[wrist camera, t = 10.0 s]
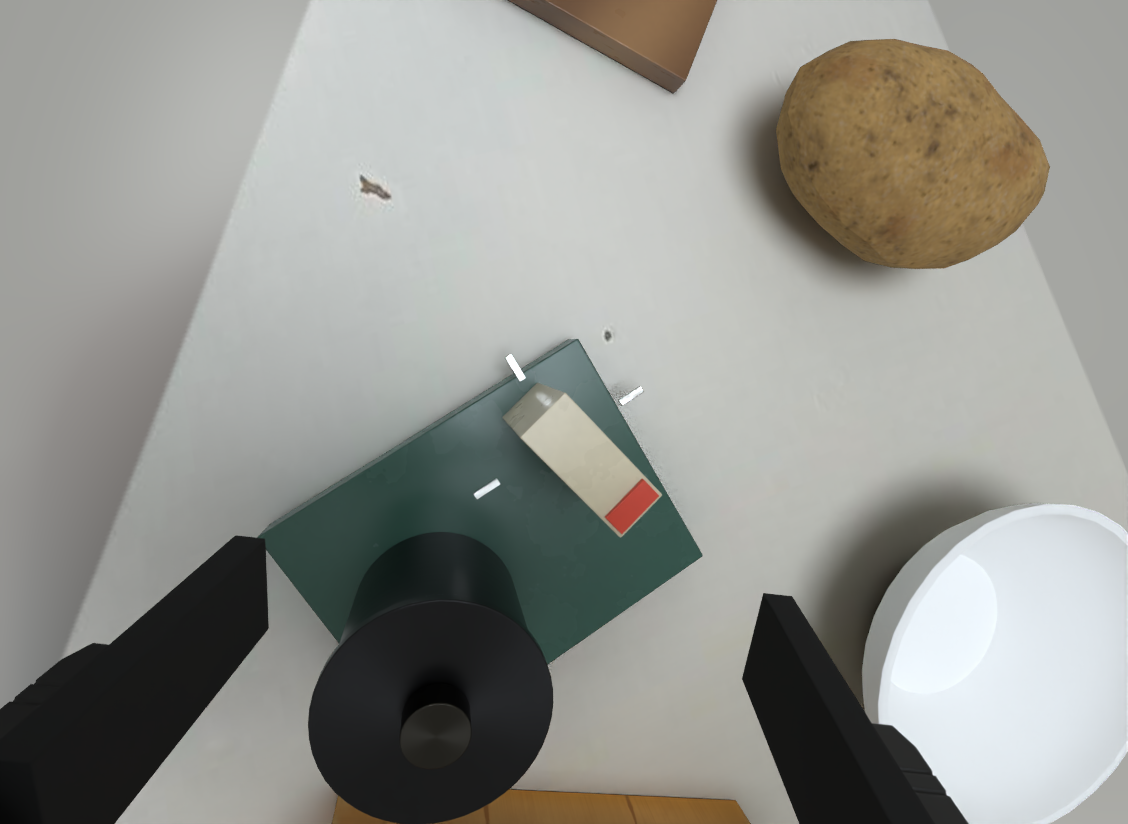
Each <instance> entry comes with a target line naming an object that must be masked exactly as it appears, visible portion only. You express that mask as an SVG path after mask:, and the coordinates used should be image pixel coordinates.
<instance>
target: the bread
mask: <svg viewBox="0 0 1128 824" xmlns="http://www.w3.org/2000/svg"><path fill="white" fill-rule="evenodd" d="M332 824H399V823H393V822H388V821H384V820H381V819H378V818H374V817H371V816H369V815H367V814H365V813H363V812H361V811H359V810H357V809H356V808H354V807H353V806H351V805H350V804H348V803H347V802H345V801H344V800H343V799H342V798H341V797H340V796H339V795H338V798H337V803H336V807H335V812H334V816H333V820H332ZM434 824H751V823H750V822H749V820H748V819H747V817H746V816H745V814H744V813H743V811H742V810H741V808H740V806H739V805H738V803H737V802H736V800H716V799H695V798H674V797H653V796H632V795H611V794H590V793H569V792H548V791H527V790H508V791H506V792H505V793H504V794H503V795H501V796H500V797H499V798H497V799H496V800H494V801H493V802H492V803H490V804H488V805H486V806H484V807H483V808H481V809H479V810H477V811H475V812H472V813H470V814H468V815H465V816H463V817H460V818H456V819H453V820H450V821H445V822H440V823H434Z"/></svg>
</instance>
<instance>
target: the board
mask: <svg viewBox="0 0 1128 824" xmlns="http://www.w3.org/2000/svg"><path fill="white" fill-rule="evenodd" d="M509 1H511V2H512V3H514V4H516V5H518V6H519V7H521V8H523V9H525V10H527V11H528V12H530V13H532V14H534V15H535V16H537V17H539V18H541V19H543V20H544V21H546V22H548V23H550V24H551V25H553V26H555V27H557V28H559V29H560V30H562V31H564V32H566V33H567V34H569V35H571V36H573V37H575V38H576V39H578V40H580V41H582V42H584V43H585V44H587V45H589V46H591V47H592V48H594V49H596V50H598V51H600V52H601V53H603V54H605V55H607V56H608V57H610V58H612V59H614V60H616V61H617V62H619V63H621V64H623V65H624V66H626V67H628V68H630V69H632V70H633V71H635V72H637V73H639V74H640V75H642V76H644V77H646V78H648V79H649V80H651V81H653V82H655V83H656V84H658V85H660V86H662V87H664V88H665V89H667V90H669V91H671V92H672V93H675V92H676V91H677V89H678V88H679V87H680V86H681V85H682V84H683V83H684V82H685V81H686V78H687V76H688V73H689V71H690V68H691V66H692V63H693V61H694V58H695V56H696V53H697V50H698V48H699V45H700V43H701V40H702V38H703V35H704V33H705V30H706V27H707V25H708V22H709V20H710V17H711V15H712V12H713V10H714V7H715V5H716V2H717V0H509Z"/></svg>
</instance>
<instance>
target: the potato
mask: <svg viewBox="0 0 1128 824" xmlns="http://www.w3.org/2000/svg"><path fill="white" fill-rule="evenodd" d="M776 134H777V142H778V150H779V158H780V166H781V171H782V173H783V175H784V177H785V179H786V181H787V183H788V186H789V188H790V190H791V192H792V193H793V194H794V196H795V197H796V198H797V200H798V201H799V202H800V204H801V205H802V206H803V207H804V208H805V209H806V210H807V212H808V213H809V214H810V215H811V216H812V217H813V218H814V219H815V221H816V222H817V223H818V224H819V225H820V226H821V227H822V228H823V229H824V230H826V231H827V232H828V233H829V234H830V235H831V236H832V237H834V238H835V239H836V240H837V241H838V242H839V243H840V244H842V245H843V246H844V247H846V248H847V249H849V250H850V251H851V252H853V253H854V254H855V255H857V256H858V257H860V258H861V259H862V260H864V261H867V262H871V263H875V264H879V265H883V266H888V267H893V268H911V269H930V268H946V267H949V266H952V265H955V264H958V263H960V262H963V261H966V260H969V259H971V258H973V257H975V256H976V255H978V254H980V253H982V252H984V251H986V250H988V249H990V248H992V247H994V246H996V245H998V244H999V243H1000V242H1002V241H1003V240H1004V239H1006V238H1007V237H1008V236H1010V235H1011V234H1012V233H1014V232H1015V231H1016V230H1017V229H1018V228H1019V227H1020V225H1021V224H1022V223H1023V222H1024V220H1025V219H1026V218H1027V217H1028V216H1029V215H1030V213H1031V212H1032V211H1033V210H1034V209H1035V207H1036V206H1037V205H1038V203H1039V201H1040V199H1041V198H1042V196H1043V194H1044V191H1045V187H1046V182H1047V177H1048V173H1049V168H1050V166H1049V163H1048V161H1047V158H1046V156H1045V153H1044V150H1043V147H1042V145H1041V142H1040V140H1039V138H1038V137H1037V136H1036V135H1035V134H1034V133H1033V132H1032V130H1031V129H1030V128H1029V127H1028V126H1027V125H1026V123H1025V122H1024V121H1023V120H1022V119H1021V118H1020V117H1019V116H1018V115H1017V113H1016V112H1015V111H1014V110H1013V109H1012V108H1011V107H1010V106H1009V105H1008V104H1007V103H1006V102H1005V100H1004V99H1003V98H1002V97H1001V96H1000V95H999V94H998V93H997V91H996V90H995V89H994V87H993V86H992V85H991V83H990V82H989V81H988V80H987V78H986V77H985V76H984V74H983V73H981V72H980V71H979V70H978V69H976V68H975V67H974V66H973V65H972V64H970V63H968V62H967V61H965V60H963V59H961V58H960V57H958V56H956V55H955V54H953V53H951V52H949V51H947V50H942V49H937V48H931V47H926V46H921V45H917V44H913V43H909V42H905V41H901V40H896V39H882V40H864V41H850V42H848V43H845V44H843V45H841V46H838V47H836V48H834V49H832V50H829V51H827V52H826V53H824V54H822V55H821V56H819V57H817V58H815V59H814V60H812V61H810V62H808V63H807V64H805V65H803V66H802V67H800V69H799V71H798V72H797V74H796V76H795V78H794V80H793V81H792V83H791V85H790V87H789V89H788V90H787V92H786V95H785V99H784V102H783V106H782V109H781V113H780V117H779V120H778V124H777V128H776Z"/></svg>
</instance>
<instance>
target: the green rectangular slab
mask: <svg viewBox="0 0 1128 824" xmlns="http://www.w3.org/2000/svg"><path fill="white" fill-rule="evenodd" d="M505 359H506V360H507V362H508V364H509V365H510V367H511V368H512V370H513V372H514V374H512V375H510V376H509V377H507V378H505V379H504V380H502V381H501V382H499V383H497V384H496V385H494V386H493V387H491V388H489V389H488V390H486V391H484V392H483V393H481V394H480V395H478V396H476V397H475V398H473V399H472V400H470V401H468V402H467V403H465V404H463V405H462V406H460V407H459V408H457V409H455V410H454V411H452V412H451V413H449V414H447V415H446V416H444V417H442V418H441V419H439V420H438V421H436V422H434V423H433V424H431V425H430V426H428V427H426V428H425V429H423V430H421V431H420V432H418V433H417V434H415V435H413V436H412V437H410V438H408V439H407V440H405V441H404V442H402V443H400V444H399V445H397V446H396V447H394V448H392V449H391V450H389V451H387V452H386V453H384V454H383V455H381V456H379V457H378V458H376V459H375V460H373V461H371V462H370V463H368V464H366V465H365V466H363V467H362V468H360V469H358V470H357V471H355V472H354V473H352V474H350V475H349V476H347V477H345V478H344V479H342V480H341V481H339V482H337V483H336V484H334V485H333V486H331V487H329V488H328V489H326V490H324V491H323V492H321V493H320V494H318V495H316V496H315V497H313V498H312V499H310V500H308V501H307V502H305V503H303V504H302V505H300V506H299V507H297V508H295V509H294V510H292V511H291V512H289V513H287V514H286V515H284V516H282V517H281V518H279V519H278V520H276V521H274V522H273V523H271V524H270V525H269V526H268V527H267V528H266V529H265V530H264V531H263V532H262V533H261V534H260V535H259V536H258V537H257V538H263V539H265V546H266V550H267V551H268V553H269V554H270V555H271V556H272V558H273V559H274V560H275V562H276V563H277V564H278V565H279V567H280V568H281V569H282V571H283V572H284V573H285V574H286V576H287V577H288V578H289V580H290V581H291V582H292V583H293V585H294V586H295V587H296V589H297V590H298V591H299V592H300V594H301V595H302V596H303V598H304V599H305V600H306V602H307V603H308V604H309V605H310V607H311V608H312V609H313V611H314V612H315V613H316V614H317V616H318V617H319V618H320V620H321V621H322V622H323V623H324V625H325V626H326V627H327V629H328V630H329V631H330V632H331V634H332V635H333V636H334V638H335V639H336V640H337V641H338V643H340V640H341V637H342V634H343V631H344V629H345V626H346V623H347V620H348V617H349V614H350V611H351V608H352V605H353V602H354V599H355V596H356V593H357V590H358V588H359V585H360V583H361V581H362V579H363V577H364V575H365V574H366V572H367V571H368V569H369V568H370V567H371V565H372V564H373V563H374V562H375V561H376V560H377V559H378V558H379V557H380V556H381V555H382V554H383V553H384V552H386V551H387V550H388V549H390V548H391V547H393V546H394V545H396V544H397V543H399V542H402V541H404V540H406V539H408V538H411V537H414V536H417V535H421V534H426V533H435V532H448V533H456V534H461V535H464V536H467V537H471V538H473V539H475V540H477V541H479V542H481V543H483V544H484V545H486V546H487V547H489V548H490V549H491V550H492V551H493V552H495V553H496V554H497V555H498V557H499V558H500V559H501V560H502V561H503V563H504V564H505V566H506V567H507V569H508V571H509V573H510V575H511V577H512V580H513V584H514V587H515V590H516V593H517V596H518V600H519V603H520V606H521V609H522V612H523V616H524V619H525V622H526V625H527V628H528V631H529V632H530V633H531V634H532V635H533V637H534V638H535V640H536V641H537V643H538V644H539V646H540V648H541V650H542V652H543V654H544V657H545V659H546V662H547V665H548V664H549V663H550V662H552V661H553V660H555V659H556V658H558V657H559V656H560V655H562V654H563V653H565V652H566V651H568V650H569V649H570V648H572V647H573V646H575V645H576V644H578V643H579V642H580V641H582V640H583V639H585V638H586V637H588V636H589V635H590V634H592V633H593V632H595V631H596V630H598V629H599V628H600V627H602V626H603V625H605V624H606V623H608V622H609V621H610V620H612V619H613V618H615V617H616V616H618V615H619V614H620V613H622V612H623V611H625V610H626V609H628V608H629V607H630V606H632V605H633V604H635V603H636V602H638V601H639V600H640V599H642V598H643V597H645V596H646V595H648V594H649V593H650V592H652V591H653V590H655V589H656V588H658V587H659V586H660V585H662V584H663V583H665V582H666V581H668V580H669V579H671V578H672V577H673V576H675V575H676V574H678V573H679V572H681V571H682V570H683V569H685V568H686V567H688V566H689V565H691V564H692V563H693V562H695V561H696V560H698V559H699V558H701V557H702V553H701V551H700V550H699V548H698V546H697V544H696V543H695V541H694V539H693V537H692V536H691V534H690V532H689V530H688V529H687V527H686V525H685V524H684V522H683V520H682V518H681V517H680V515H679V513H678V511H677V510H676V508H675V506H674V504H673V503H672V501H671V499H670V497H669V496H668V494H667V492H666V491H665V489H664V487H663V485H662V484H661V482H660V480H659V478H658V477H657V475H656V473H655V471H654V470H653V468H652V466H651V465H650V463H649V461H648V459H647V458H646V456H645V454H644V452H643V451H642V449H641V447H640V445H639V444H638V442H637V440H636V439H635V437H634V435H633V433H632V432H631V430H630V428H629V426H628V425H627V423H626V421H625V419H624V418H623V416H622V414H621V412H620V411H619V409H618V407H617V406H616V404H615V402H614V400H613V399H612V397H611V395H610V393H609V392H608V390H607V388H606V386H605V385H604V383H603V381H602V380H601V378H600V376H599V374H598V373H597V371H596V369H595V367H594V366H593V364H592V362H591V360H590V359H589V357H588V355H587V353H586V352H585V350H584V348H583V347H582V345H581V343H580V341H579V340H578V339H569V340H567V341H565V342H564V343H562V344H560V345H559V346H557V347H556V348H554V349H552V350H551V351H549V352H547V353H546V354H544V355H543V356H541V357H539V358H538V359H536V360H535V361H533V362H531V363H530V364H528V365H526V366H525V367H523V368H522V369H520V367H519V366H518V364H517V362H516V361H515V359H514V357H513V356H512V354H510V355H508V356H506V357H505ZM536 383H540V384H542V385H545V386H548V387H551V388H553V389H556V390H559V391H562V392H565V393H566V394H567V395H568V396H569V397H570V398H571V399H572V400H573V401H574V402H575V403H576V404H577V405H578V406H579V407H580V408H581V409H582V410H583V412H584V413H585V414H586V415H587V416H588V417H589V418H590V419H591V420H592V421H593V422H594V423H595V424H596V425H597V426H598V427H599V428H600V429H601V430H602V432H603V433H604V434H605V435H606V436H607V437H608V438H609V439H610V440H611V441H612V442H613V443H614V444H615V445H616V446H617V447H618V448H619V449H620V450H621V452H622V453H623V454H624V455H625V456H626V457H627V458H628V459H629V460H630V461H631V462H632V463H633V464H634V465H635V466H636V467H637V468H638V469H639V471H640V472H641V473H642V474H643V475H644V476H645V477H646V478H647V479H648V480H649V481H650V482H651V483H652V484H653V485H654V486H655V487H656V488H657V489H658V491H659V492H660V493H661V494H662V496H661V497H660V498H659V499H658V500H657V501H656V502H655V503H654V504H653V505H652V506H651V507H650V508H649V509H648V511H647V512H646V513H645V514H644V515H643V516H642V517H641V518H640V519H639V520H638V521H637V522H636V523H635V524H634V525H633V526H632V527H631V528H630V529H629V530H628V531H627V532H626V533H625V534H624V535H623V536H622V537H621V538H620V537H619V536H618V535H617V534H616V533H615V532H614V531H613V530H612V529H611V528H610V527H609V526H608V525H607V524H606V523H605V522H604V521H603V520H602V519H601V518H600V517H599V516H598V515H597V514H596V513H595V512H594V511H593V510H592V509H591V508H590V507H589V506H588V505H587V504H586V503H585V502H584V501H583V500H582V499H581V498H580V497H579V496H578V495H577V494H576V493H575V492H574V491H573V490H572V489H571V488H570V487H569V486H568V485H567V484H566V483H565V482H564V481H563V480H562V479H561V478H560V477H559V476H558V475H557V474H556V473H555V472H554V471H553V470H552V469H551V468H550V467H549V466H548V465H547V464H546V463H545V462H544V461H543V460H542V459H541V458H540V457H539V456H538V455H537V454H536V453H535V452H534V451H533V450H532V449H531V448H530V447H529V446H528V445H527V444H526V443H525V442H524V441H523V440H522V439H521V438H520V437H519V436H518V435H517V434H516V433H515V432H514V431H513V429H512V428H511V427H510V426H509V425H508V424H507V423H506V422H505V420H504V419H503V418H502V417H503V416H504V415H505V414H506V413H507V412H508V411H509V410H510V409H511V408H512V407H513V406H514V405H515V404H516V403H517V402H518V401H519V400H520V399H521V398H522V397H523V396H524V395H525V394H526V393H527V392H528V391H529V390H530V389H531V388H532V387H533V386H534V385H535V384H536ZM643 392H644V390H643V388H642V387H641V386H639V387H637V388H636V389H634V390H633V391H631V392H630V393H628V394H626V395H625V396H623V397H622V398H620V399H619V400H618V401H619V402H620V404H621V406H623V405H624V404H626V403H628V402H629V401H631V400H632V399H634V398H635V397H637V396H638V395H640V394H641V393H643Z"/></svg>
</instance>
